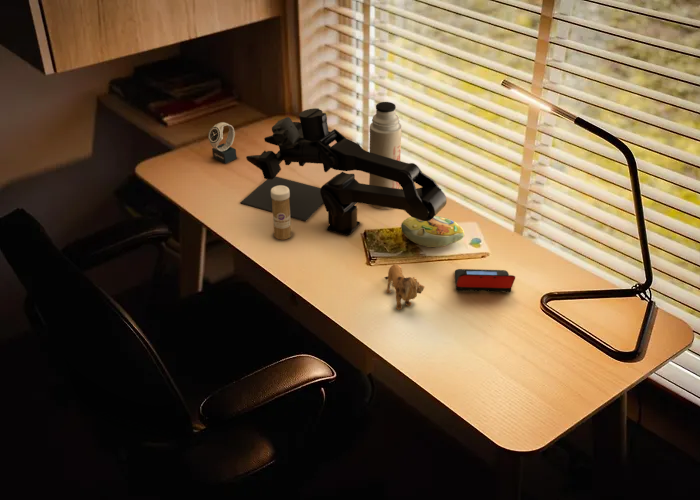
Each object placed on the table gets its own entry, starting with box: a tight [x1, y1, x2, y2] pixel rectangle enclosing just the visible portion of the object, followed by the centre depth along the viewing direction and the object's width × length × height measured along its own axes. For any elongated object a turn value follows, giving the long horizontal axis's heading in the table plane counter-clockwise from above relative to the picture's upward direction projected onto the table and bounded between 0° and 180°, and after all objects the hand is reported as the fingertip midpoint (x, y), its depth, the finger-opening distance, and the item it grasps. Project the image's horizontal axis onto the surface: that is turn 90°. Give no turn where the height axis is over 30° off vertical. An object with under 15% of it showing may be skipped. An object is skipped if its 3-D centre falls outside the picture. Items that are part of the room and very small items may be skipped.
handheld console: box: [454, 268, 516, 293], centre depth 179 cm, size 12×11×7 cm
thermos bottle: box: [368, 101, 402, 210], centre depth 204 cm, size 8×8×28 cm
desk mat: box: [240, 175, 324, 222], centre depth 214 cm, size 20×16×1 cm
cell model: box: [400, 215, 465, 248], centre depth 195 cm, size 11×8×15 cm
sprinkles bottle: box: [271, 185, 293, 241], centre depth 195 cm, size 5×5×14 cm
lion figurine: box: [384, 263, 425, 311], centre depth 176 cm, size 15×5×9 cm, turn 25°
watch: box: [207, 121, 238, 165], centre depth 229 cm, size 6×8×11 cm
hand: (255, 148), depth 202 cm, fingers open, 9 cm apart
